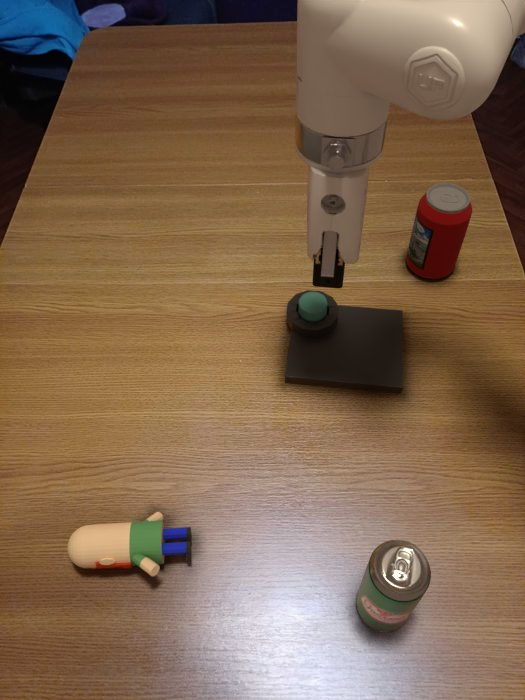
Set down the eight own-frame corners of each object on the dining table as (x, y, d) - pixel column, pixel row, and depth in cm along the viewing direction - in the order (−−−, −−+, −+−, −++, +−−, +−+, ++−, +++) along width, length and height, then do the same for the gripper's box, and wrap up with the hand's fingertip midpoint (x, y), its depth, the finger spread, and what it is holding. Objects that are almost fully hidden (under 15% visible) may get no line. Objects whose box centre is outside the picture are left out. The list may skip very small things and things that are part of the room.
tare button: (327, 301, 79) (328, 292, 78) (325, 323, 77) (326, 314, 75) (299, 299, 79) (300, 290, 78) (297, 321, 77) (297, 312, 76)
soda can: (348, 621, 58) (362, 584, 49) (363, 570, 61) (379, 526, 51) (401, 642, 57) (425, 608, 48) (413, 589, 60) (439, 548, 50)
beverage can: (406, 245, 88) (422, 176, 79) (454, 251, 88) (476, 182, 78) (403, 279, 85) (419, 211, 75) (453, 285, 84) (476, 217, 74)
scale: (400, 312, 81) (404, 297, 79) (401, 393, 73) (405, 379, 71) (289, 303, 82) (289, 288, 80) (278, 382, 75) (278, 368, 72)
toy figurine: (192, 529, 66) (78, 535, 65) (190, 496, 64) (72, 503, 63) (191, 590, 59) (63, 599, 58) (188, 555, 57) (56, 564, 56)
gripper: (383, 191, 47) (359, 340, 61) (387, 85, 55) (366, 237, 70) (284, 184, 47) (284, 333, 62) (304, 80, 56) (300, 232, 71)
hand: (327, 281), depth 66 cm, fingers closed
